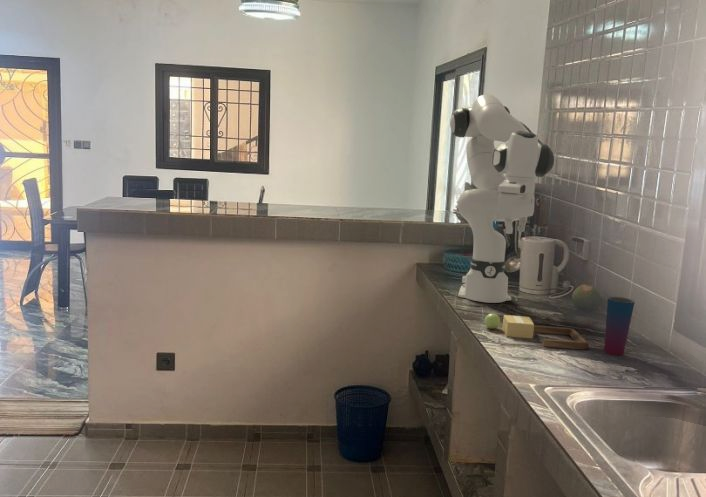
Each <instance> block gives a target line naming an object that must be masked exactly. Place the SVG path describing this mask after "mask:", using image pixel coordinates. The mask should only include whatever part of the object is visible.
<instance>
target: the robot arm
mask: <svg viewBox="0 0 706 497" xmlns="http://www.w3.org/2000/svg"><path fill="white" fill-rule="evenodd" d="M449 128H450V131H451V134H453V136H454V137H457V138H469V140H468V141H467V143H466V151H465V152H466V162H467V166H468V169H469V170H468V171H469V175H470V176H469V177H470V180H471V183H472V184H473V186H475V187H476V188H472V189H467V190H464V191H462V192H461V194H460V195H459V196H458V199H457V211H458V212H459V214H460V215H461V217H462V218H463V219H464V220H465V221H467V223H468V225H469V226H470V229H471V231H472V235H473V236H472V237H473V249H472V250H473V251H472V257H471V260H470V265H469V266H470V268H469V271H468V272H467V273H466V275H463V276H461V277H462V279H461V283H463V284H462V285H461V286H460V288H459V292H458V298H463V299H467V300H470V301H475V302H479V303H489V304H490V303H491V304H492V303H493V304H494V303H495V304H496V303H497V304H498V303H503V302H507V301H509V302H510V301H512V297H511V296H510V295H508V284H509V277H508V276H507V275H506V273H505V270H506V260H505V258H506V247H507V240H506V237H505V236H504V235H503V234H502V233H500V232H499V231H497V230H495V228H494V222H504V225H505V231H504V232H505V234H508V235H511V234H512V235H513V233H514V227H513V222H515V221H519V222H518V225H517V227H516V228H517V229H516V230H517V232H524V231H525V228H526V224H527V222H528V218H529V217H532V216H534V213H535V203H536V201H535V190H536V180H537V178H542V177H544V176H546V175H547V174H548V173H549V172H550V171H551V170H552V169H553V167H554V165H555V164H554V163H555V155H554V152H553V150H552V148H550V146H549V145H547V144H545V143H543V142H542V141H540V138H538V135H536V134H535V133H534V132H533V131H532V130H531V129H530V128H529V127H528V126H527V125H526V124H525V123H524V122H521V121H519V119H517V118H516V117H514V116H513V115H512V114H511V112H510V108H508V107H507V106H505V105H503V103H502V102H501V101H500V99H498V98H497V97H496V96H495V95H493V94H489V93H484V94H481V95H479V96H478V97H477V98H475V99H474V101H473V103H472V106H469V107H465V106H464V107H459V108H457V109H455V110H454V111H453V112H452V113H451V116H450V119H449ZM495 141H497V142H502V143H500V144H498V145H497V146H496V147H495ZM503 142H504V143H503Z"/></svg>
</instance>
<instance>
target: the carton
mask: <svg viewBox="0 0 706 497" xmlns="http://www.w3.org/2000/svg"><path fill="white" fill-rule="evenodd" d="M534 325H535V324H534V322H533V320H532V319H531V317H529V316H524V315H523V316H521V315H511V314H510V315H509V314H503V321H502V326H501V327H502V331H503V332H504V334H505V336H506V337H508V338H509V337H511V338H523V339H533V338H534V332H533V331H534Z"/></svg>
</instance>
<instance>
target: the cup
mask: <svg viewBox="0 0 706 497" xmlns="http://www.w3.org/2000/svg"><path fill="white" fill-rule="evenodd" d="M606 302H607V306H606V317H605V318H606V319H605V320H606V321H605V331H604V332H605V333H604V334H605V335H604V336H605V337H604V346H603V347H604V348H603V349H604V352H605V353H606V354H609V355H614V356H623V355H624V354H625V350H626V345H627V340H628V336H629V335H628V334H629V331H630V325H631V321H632V316H633V312H634V307H635V303H636V301H635V299H631V298H627V297H623V296H608V297H607V301H606Z"/></svg>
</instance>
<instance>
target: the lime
mask: <svg viewBox="0 0 706 497" xmlns="http://www.w3.org/2000/svg"><path fill="white" fill-rule="evenodd" d="M500 324H501V318H500V316H499V315H498V314H496V313H488V314H487V315H486V316H485V318H484V325H485V326H486V327H487V328H488V329H491V330H494V329H497V328H498V327H499V326H500Z"/></svg>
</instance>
